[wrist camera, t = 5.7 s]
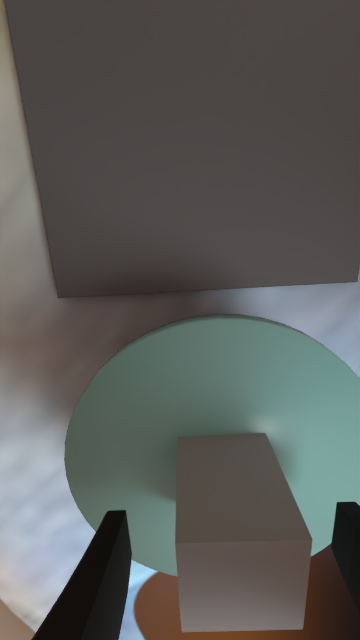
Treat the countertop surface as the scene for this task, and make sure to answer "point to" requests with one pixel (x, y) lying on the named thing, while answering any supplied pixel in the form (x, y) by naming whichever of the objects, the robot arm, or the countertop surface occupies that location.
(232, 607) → the lid
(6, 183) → the countertop surface
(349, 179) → the mat
